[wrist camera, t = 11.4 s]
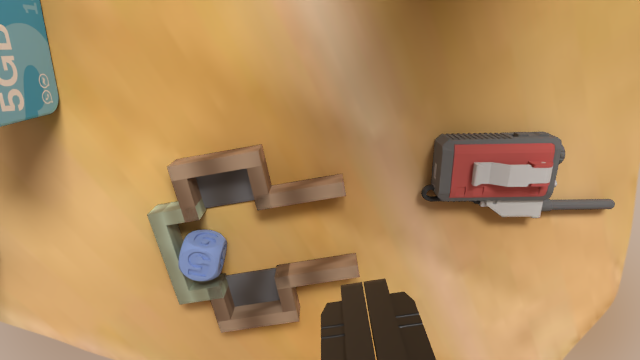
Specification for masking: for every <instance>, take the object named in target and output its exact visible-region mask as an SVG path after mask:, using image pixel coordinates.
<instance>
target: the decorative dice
mask: <svg viewBox="0 0 640 360" xmlns="http://www.w3.org/2000/svg"><path fill="white" fill-rule="evenodd" d="M226 249H227V241H226V239H225V238H224V237H223V236H222V235H221V234H220V233H218V232H216V231H212V230H196V231H193V232H191V233H189V234H188V235H187V236H186V237H185V239H184V241H183V244H182V247H181V250H180V255H179V263H178V265H179V269H180V271H181V272H182V273H183V274H184V275H185V276H186V277H188V278H189V279H191V280H195V281H209V280H212V279H214V278H216V277H218V276H219V275H220V273H221V270H222V267H223V264H224V260H225V255H226Z"/></svg>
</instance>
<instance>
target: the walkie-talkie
mask: <svg viewBox="0 0 640 360" xmlns="http://www.w3.org/2000/svg"><path fill="white" fill-rule="evenodd" d="M564 158H565V150H564V147H563V145H562V144H561V140H560V139H559V138H558V137H555V136H553V135H550V134H548V133H546V132H514V133H500V134H498V133H495V134H493V133H489V134H487V133H484V134H481V133H479V134H476V133H473V134H470V133H468V134H465V133H463V134H459V133H457V134H453V133H452V134H446V135H444V134H441V135H440V136H439V137H438V138H436V139H435V144H434V155H433V167H432V179H431V185H427V186H425V187H424V188H423V190H422V196H423V198H424V199H425V200H428V201H443V202H444V201H448V202H449V201H453V202H455V201H459V202H460V201H471V202H474V203H476V204H479V205H480V206H481V207H489V208H491V209H492V210H493V211H495V212H496V213H497V214H499V215H500V216H501V217H532V218H540V215H541V211H550V210H569V209H611V208H613V207H614V205H615V203H614V201H613V200H611V199H582V200H550V199H548V198H550V197H551V195H552V193H553V190H554V187H556V185H557V182H556V175H557V170H558V164H560V163H562V161H563V160H564ZM429 190H433V191H434V193H435V194H436V195H437V196H427V195H426V193H427V191H429Z"/></svg>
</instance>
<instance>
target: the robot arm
mask: <svg viewBox="0 0 640 360" xmlns="http://www.w3.org/2000/svg"><path fill="white" fill-rule="evenodd" d="M364 287H365V293H366V299H367V305H368V311H369V317H370V323H371V329H372V335H373V340H374V346H375V351H376V357H377V360H436V358H435V356H434V353H433V350H432V348H431V345H430V342H429V339H428V337H427V334H426V331H425V329H424V326H423V324H422V320H421V318H420V315H419V312H418V310H417V307H416V304H415V301H414V300H413V299H412V298H411V297H409V296H408V295H407V294H406V293H405V292H398V293H392V294H389V290H388V287H387V283H386V280H385V279H379V280H372V281H365V282H364ZM341 297H342V301H339V302H332V303H327V305H326V306H325V308H324V310H323V312H322V314H321V360H375V354H374V348H373V343H372V337H371V331H370V326H369V320H368V314H367V309H366V303H365V297H364V292H363V286H362V282H359V283H353V284H346V285H341Z"/></svg>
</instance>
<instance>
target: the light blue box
mask: <svg viewBox="0 0 640 360" xmlns="http://www.w3.org/2000/svg"><path fill="white" fill-rule="evenodd" d="M58 102H59V96H58V90H57V85H56V80H55V75H54V70H53V65H52V60H51V55H50V50H49V45H48V40H47V35H46V29H45V24H44V19H43V14H42V9H41V4H40V0H0V127H1V126H5V125H9V124H13V123H17V122H21V121H24V120H28V119H32V118H36V117H40V116H44V115H48V114H51V113H53V112H54V111H55V110H56V108H57V106H58Z"/></svg>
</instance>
